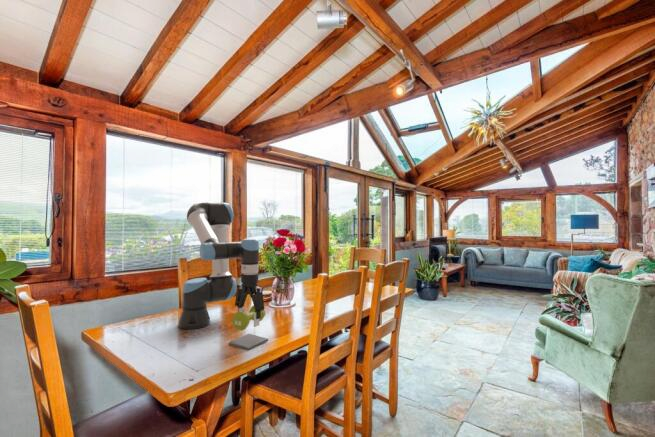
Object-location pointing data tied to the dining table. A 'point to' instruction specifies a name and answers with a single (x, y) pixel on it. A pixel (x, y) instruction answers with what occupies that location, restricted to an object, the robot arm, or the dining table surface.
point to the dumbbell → (245, 318)
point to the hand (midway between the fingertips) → (249, 323)
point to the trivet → (248, 341)
